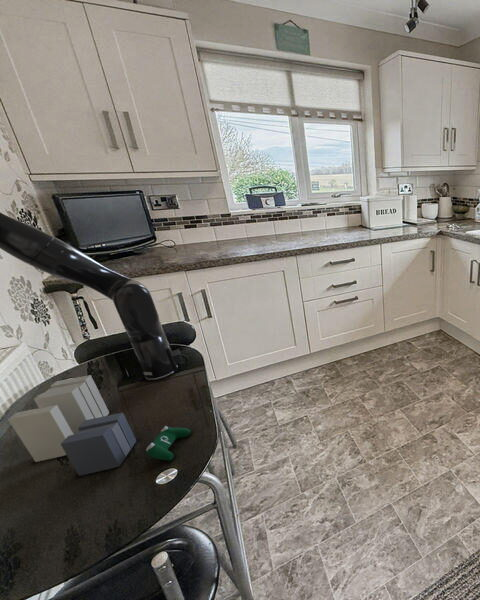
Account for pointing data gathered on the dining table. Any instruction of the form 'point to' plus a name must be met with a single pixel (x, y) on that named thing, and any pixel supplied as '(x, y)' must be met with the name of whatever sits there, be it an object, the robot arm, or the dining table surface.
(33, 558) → the dining table surface
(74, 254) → the robot arm
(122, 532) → the dining table surface
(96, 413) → the white books
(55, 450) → the white book
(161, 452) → the gaming controller
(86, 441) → the grey books
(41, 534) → the dining table surface
